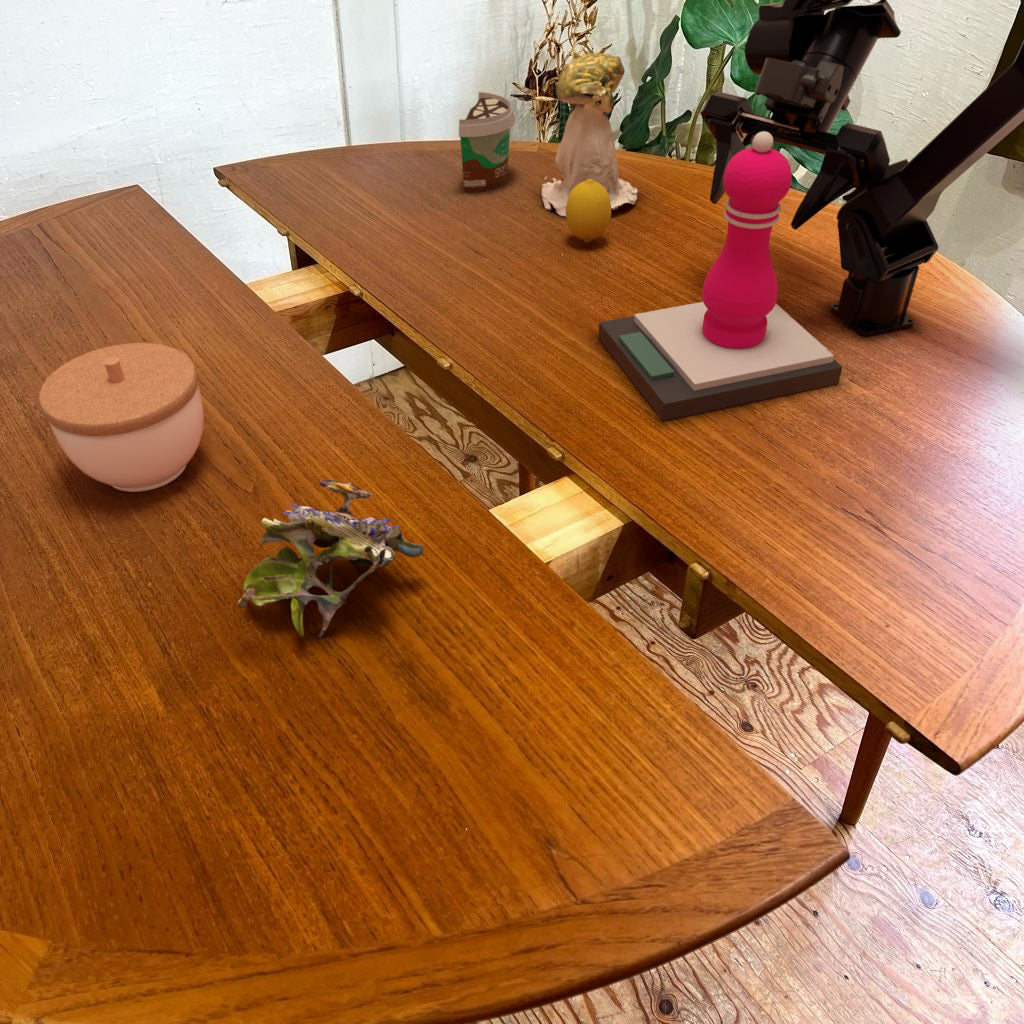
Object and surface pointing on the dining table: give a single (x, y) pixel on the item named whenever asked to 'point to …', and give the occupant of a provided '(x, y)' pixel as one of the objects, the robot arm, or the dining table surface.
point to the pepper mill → (746, 247)
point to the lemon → (588, 210)
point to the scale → (713, 361)
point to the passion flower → (321, 554)
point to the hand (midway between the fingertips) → (751, 214)
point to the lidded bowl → (126, 414)
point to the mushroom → (588, 132)
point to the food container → (486, 143)
